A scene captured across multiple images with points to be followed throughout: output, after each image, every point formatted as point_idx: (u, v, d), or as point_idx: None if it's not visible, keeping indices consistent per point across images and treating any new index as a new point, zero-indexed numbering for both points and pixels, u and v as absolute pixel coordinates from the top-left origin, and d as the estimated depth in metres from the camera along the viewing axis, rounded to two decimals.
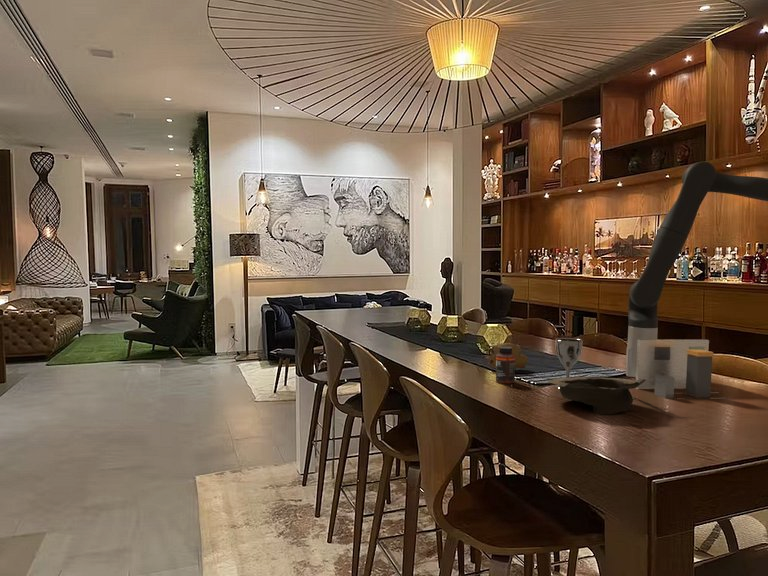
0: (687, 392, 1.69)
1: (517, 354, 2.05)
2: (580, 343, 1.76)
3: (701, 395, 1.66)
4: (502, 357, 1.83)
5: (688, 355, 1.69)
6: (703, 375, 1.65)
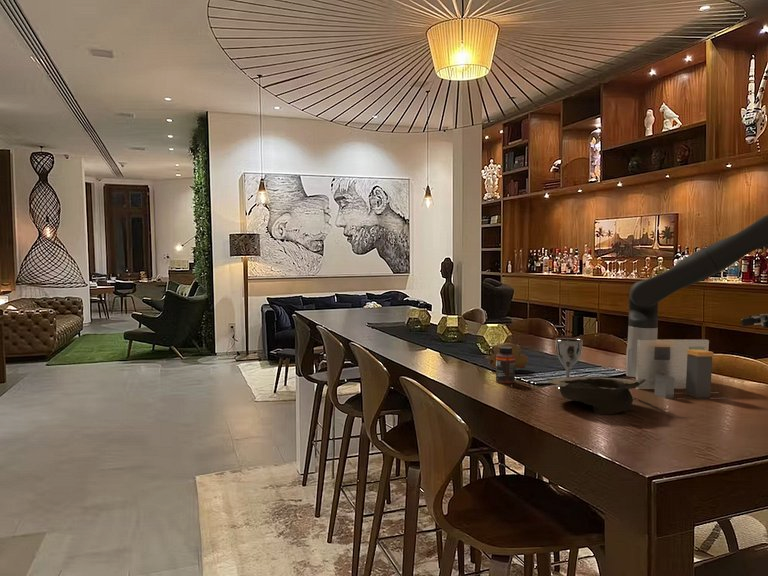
0: (687, 392, 1.69)
1: (517, 354, 2.05)
2: (580, 343, 1.76)
3: (701, 395, 1.66)
4: (502, 357, 1.83)
5: (688, 355, 1.69)
6: (703, 375, 1.65)
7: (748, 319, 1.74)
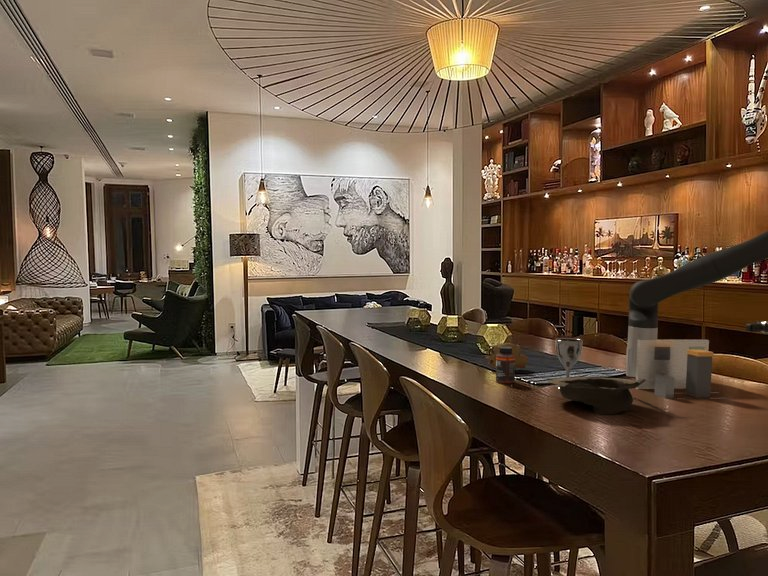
0: (687, 392, 1.69)
1: (517, 354, 2.05)
2: (580, 343, 1.76)
3: (701, 395, 1.66)
4: (502, 357, 1.83)
5: (688, 355, 1.69)
6: (703, 375, 1.65)
7: None
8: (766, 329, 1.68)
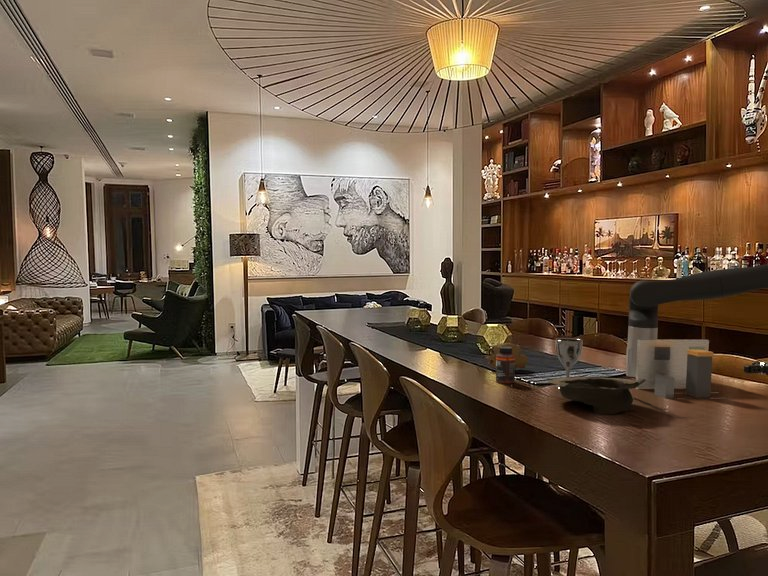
0: (687, 392, 1.69)
1: (517, 354, 2.05)
2: (580, 343, 1.76)
3: (701, 395, 1.66)
4: (502, 357, 1.83)
5: (688, 355, 1.69)
6: (703, 375, 1.65)
7: None
8: (764, 371, 1.68)
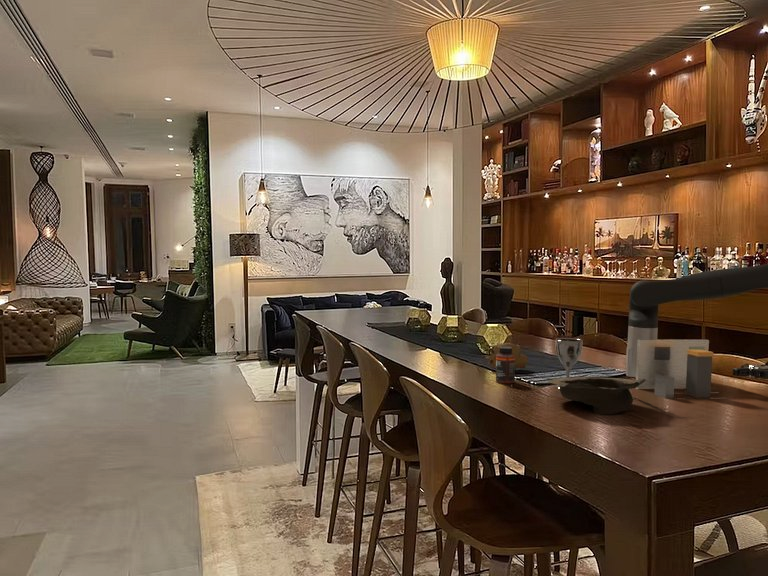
0: (687, 392, 1.69)
1: (517, 354, 2.05)
2: (580, 343, 1.76)
3: (701, 395, 1.66)
4: (502, 357, 1.83)
5: (688, 355, 1.69)
6: (703, 375, 1.65)
7: None
8: (753, 374, 1.68)
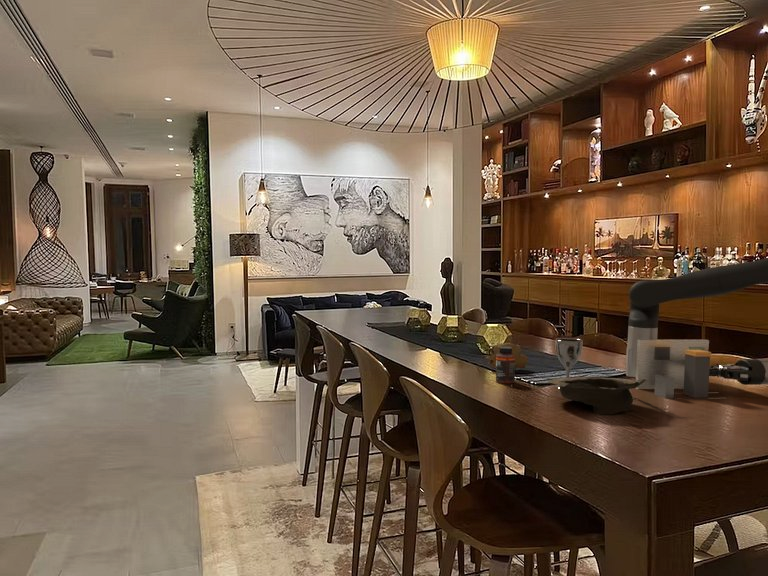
0: (685, 392, 1.69)
1: (517, 354, 2.05)
2: (580, 343, 1.76)
3: (699, 395, 1.65)
4: (502, 357, 1.83)
5: (686, 355, 1.69)
6: (701, 375, 1.65)
7: None
8: (722, 374, 1.66)
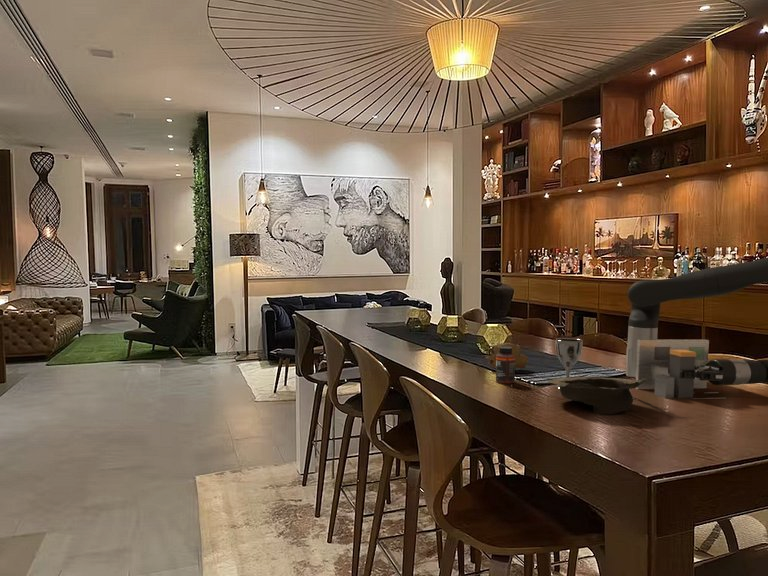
0: None
1: (517, 354, 2.05)
2: (580, 343, 1.76)
3: (684, 395, 1.65)
4: (502, 357, 1.83)
5: (671, 355, 1.68)
6: None
7: None
8: (698, 376, 1.63)
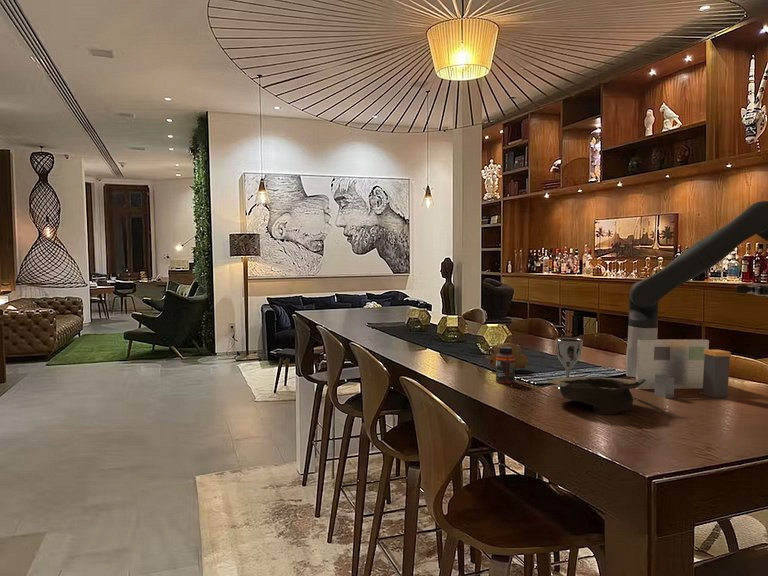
0: (704, 392, 1.70)
1: (517, 354, 2.05)
2: (580, 343, 1.76)
3: (718, 395, 1.66)
4: (502, 357, 1.83)
5: (705, 355, 1.70)
6: (720, 375, 1.66)
7: (743, 286, 1.73)
8: None
